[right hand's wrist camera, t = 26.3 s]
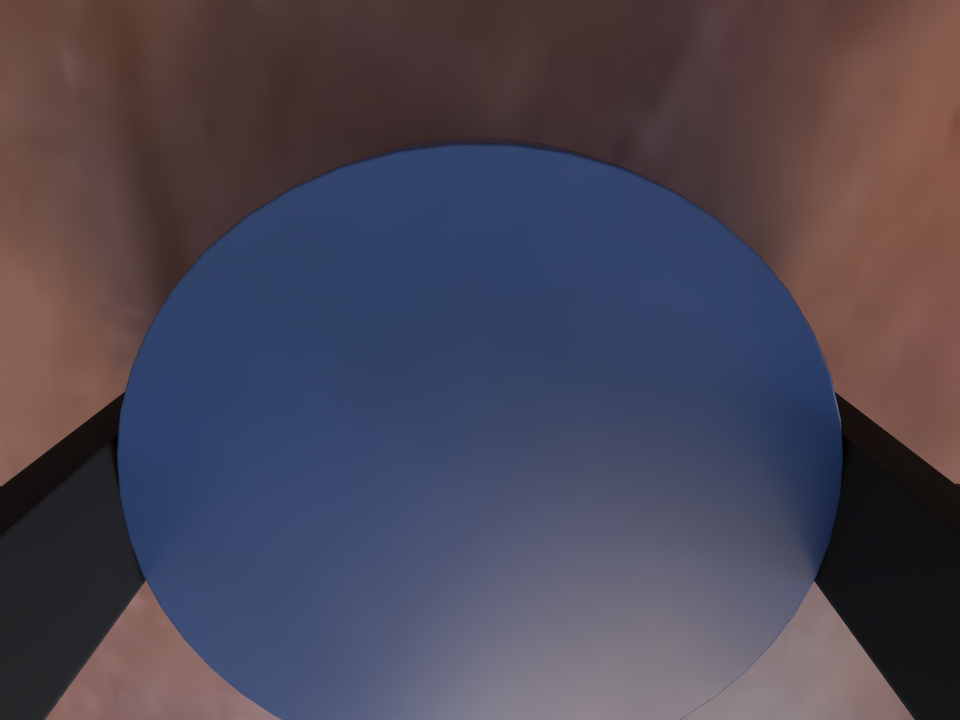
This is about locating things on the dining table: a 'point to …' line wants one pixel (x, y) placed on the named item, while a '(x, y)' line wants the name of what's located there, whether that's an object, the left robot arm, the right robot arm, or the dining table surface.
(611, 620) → the lid
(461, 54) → the dining table surface
